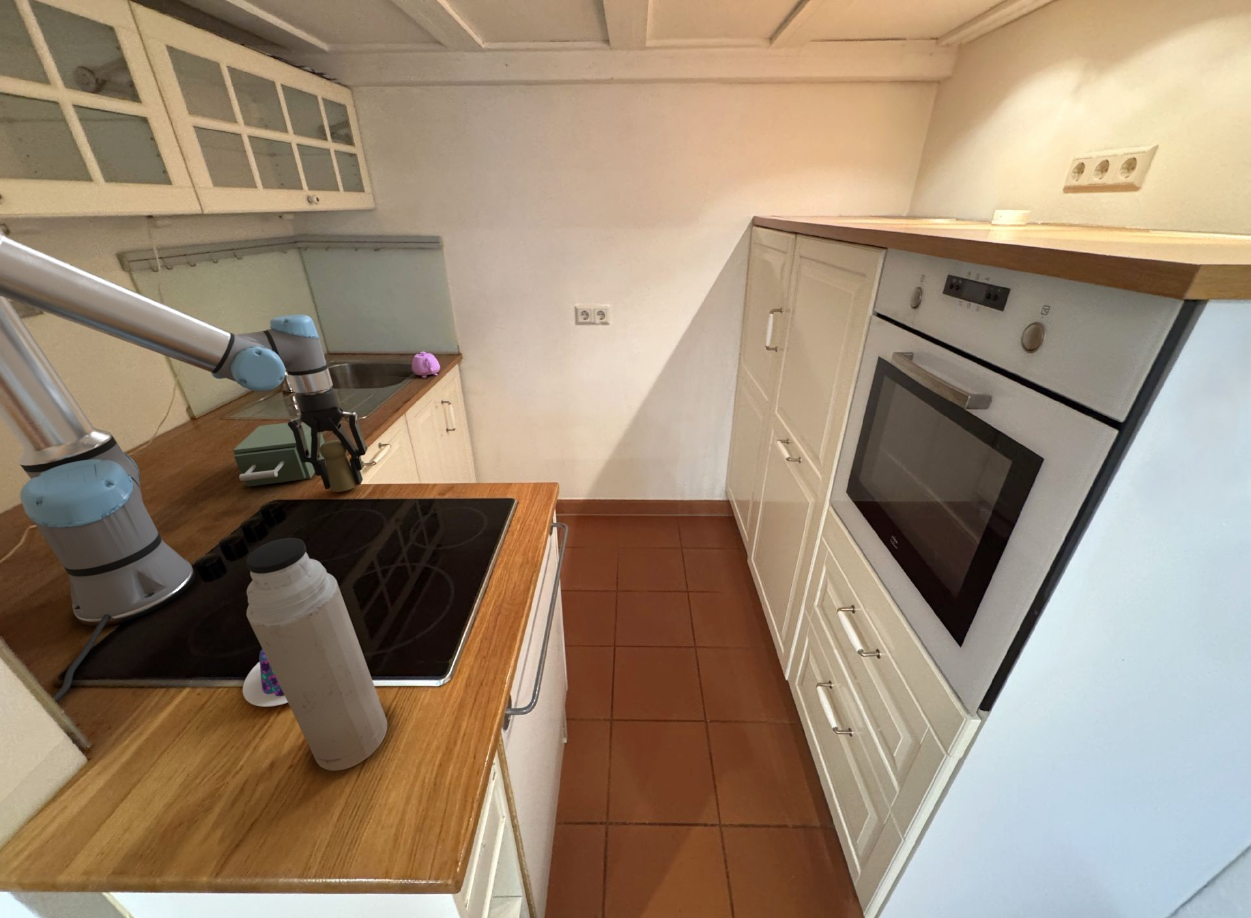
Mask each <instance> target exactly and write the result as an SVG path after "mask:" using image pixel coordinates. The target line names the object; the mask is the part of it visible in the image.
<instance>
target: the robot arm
mask: <svg viewBox="0 0 1251 918" xmlns="http://www.w3.org/2000/svg"><path fill="white" fill-rule="evenodd" d="M10 300H11V301H14V302H16V303H19V304H22V305H24V306H27V307H30V308H33V309H36V310H37V311H40V312H44V313H47V314H49V315H52V316H55V317H57V318H60V319H64V320H66V321H68V322H71V323H74V324H77V325H79V326H82V327H85V328H88V329H89V330H90V329H91V330H94V331H96V332H99V333H102V334H104V335H107V336H110V337H113V338H116V339H119V340H121V341H123V342H126V343H130V344H132V345H135V346H138V347H140V348H143V349H146V350H148V351H151V352H154V353H157V354H160V355H162V356H164V357H167V358H171V359H173V360H176V361H179V362H182V363H184V364H187V365H190V366H193V367H196V368H198V369H200V370H203V371H207V372H209V373H210V374H211V376H212V377H213V378H215V379H217V380H223V379H227V380H229V381H233V382H235V383H237V384H238V385H240V386H241V387H243V388H245V389H248V390H250V391H253V392H259V393H260V392H268V391H269V392H270V391H272V390H274V389H276V388H278V387H279V386H280V385H281V384H282V382H283V381H284V380H285V376H286V374H287V378H288V380H289V384H290V386H291V389H292V392H293V393H295V395H294V398H295V401H296V404H297V407H298V410H299V412H300V415H299V417H292V418H291V419H290V420H289V421H288V422H287V423H288V426H289V427H290V429H291V430H292V431H293V434H294V438H295V441H296V445H297V449H298V452H299V456H300V460H301V462H303V463H306V462H309V463H311V464H312V465H313V468H314V471H315V473H314V474H315V476H316V477H320V478H321V481H322V483H323V486H324V489H325V490H330V484H329V478H328V472H327V466H326V460H325V458H324V459H320V460H319V458H320V457H321V456H320V439H321V432H322V433H323V432H331V433H332V434H333V435H335V436H336V438H337V440H338V441H341V443H342V444H343V445H344V447H345V448H346V452H348V454H349V456H351V457H350V458H349V459H348V461H349V463H350V465H351V468H352V471H353V474H354V477H355V481H356V484H357V486H361V485H362V482H363V480H364V478H363V475H362V473H361V471H363V468H364V464H363V460H362V456H365V455H366V454H367V452H368V446H367V443H366V441H365V440H366V439H365V437H364V434H363V432H362V430H361V427H360V424H359V422H358V421H359V420H358V419H359V418H358V415H359V414H358V412H357V411H355V410H353V411H351V412H348V411H344V410H343V408H342V407H341V406H340V402H339V400H338V395H337V392H336V389H335V388H334V387H333V386H334V385H333V384H334V383H333V380H332V376H331V373H330V370H329V367H328V364H327V360H326V357H325V354H324V353H325V352H324V350H323V347H322V342H321V340H320V339H321V337H320V336H319V334H318V331H317V328H316V325H315V322H314V320H313V318H312V317H311V316H309V315H307V314H288V315H287V314H286V315H280V316H276V317H273V318H271V319H270V320H269V325H270V326H269V329H266V330H262V331H261V330H260V331H254V332H247V333H245V332H244V333H238V334H235V333H233V332H230V331H229V330H226V329H224V328H222V327H219V326H216V325H214V324H211V323H209V322H207V321H205V320H202V319H200V318H198V317H195V316H193V315H190V314H188V313H186V312H183V311H181V310H179V309H177V308H174V307H172V306H170V305H167V304H165V303H163V302H160V301H158V300H155V299H153V298H151V297H148V296H146V295H144V294H142V293H138V292H137V291H135V290H132V289H131V288H127V287H125V286H123V285H120V284H118V283H116V282H114V281H111V280H109V279H106V278H104V277H101V276H99V275H98V274H94V273H92V272H91V271H88V270H85V269H83V268H80V267H78V266H77V265H73V264H71V263H69V262H67V261H64V260H62V259H60V258H57V257H55V256H52V255H50V254H48V253H46V252H43V251H41V250H38V249H36V248H34V247H31V246H29V245H27V244H25V243H22V242H20V241H17V240H15V239H13V238H10V237H8V236H6V234H5V232H4V231H3V229H2V228H0V419H1V420H2V422H3V423H4V424H5V426H6V427H7V428H8V430H9V431H10V433H11V434H12V435H13V436H14V438H15V439H16V440H17V442H18V443H19V444H20V446H21V447H22V451H21V453H20V454H19V457H18V458H17V463H18V464H19V466H20V467H21V468H22V469H23V471H24V472H25V474H26V475H27V477H29V480H28V481H27V482H26V483H24V485H23V486H22V487H21V489H20V492H19V499H20V502H21V503H22V507H23V511H24V513H25V514H26V516H28V518H29V519H30V520H31V521H32V522H33V523H34V525H35V526H36V528H37V529H38V531H39V533H41V536H42V537H43V539H44V540H45V541H46V543H47V544H48V546H49V547H50V549H51V550H52V552H53V553H54V555H55V557H56V558H57V559H58V561H59V562H60V564H61V565H62V567H63V569H64V570H65V571H66V573H67V575H68V576H69V582H70V583H69V584H70V595H71V603H72V604H71V607H72V611H73V614H74V616H75V617H76V619H77V620H78V622H79V623H81V624H82V625H84V626H88V627H95V629H94V631H93V632H92V633H91V635H90V637H89V638H88V640H87V642H86V644H85V645H84V647H83V648H82V650H81V652H80V653H79V654H78V656H77V657H76V658H75V659H74V661H73V662H72V663H71V664H70V666H69V667H68V669H67V671H66V673H65V675H64V679H63V684H62V686H61V688H60V689H59V690H58V691H57V692H56V693H55V694H54V695H53V696H52V697H53V698H55V700H56V702H55V703H57V702H58V701H59V700H61V698H63V697H64V695H66V693H67V692H68V691H69V689H70V688H71V686H72V683H73V679H74V678H73V677H74V674H75V672H76V670H77V668H78V667H79V666H80V665H81V663H82V662H83V661H84V660H85V658H86V657H87V655H88V654H89V653H90V651H91V650H92V647H93V646H94V644H95V643H96V641H97V639H98V637H99V636H100V635H101V632H102V631H103V629H104V627H108V626H113V625H118V624H122V623H125V622H130V621H133V620H135V619H139V618H141V617H143V616H146V615H148V614H150V613H153V612H154V611H158V610H159V609H160V608H163V607H164V606H166V605H168V604H169V603H171V602H172V601H174V600H176V599H177V598H179V597H180V596H181V595H182V594H183V593H185V592H186V591H187V590H188V589H189V588H190V587H191V585H192V584H193V582H194V581H195V579H196V572H195V570H194V568H193V566H192V564H191V563H190V562H189V561H188V560H187V559H186V558H184V557H182V556H181V555H180V554H179V553H178V552H176V550H174V549H173V548H172V547H171V546H170V545H168V544H167V543H166V542H165V541H164V540H163V538H162V537H161V535H160V532H159V531H158V529H157V527H156V524H155V523H154V522H153V519H152V518H151V516H150V514H149V512H148V510H147V508H146V506H145V504H144V501H143V495H142V490H141V489H142V488H141V475H140V470H139V467H138V464H137V463H136V462H135V460H134V459H133V458H132V457H130V456H129V454H127V453H126V452H124V451H123V450H122V447H121V446H120V444H119V443H118V442H117V440H116V439H115V437H114V436H113V434H112V433H111V432H110V431H107V430H103V429H99V428H96V427H94V426H93V424H92V423H91V422H90V420H89V419H88V417H87V416H86V414H85V412H84V410H83V409H82V408H81V406H80V405H79V404H78V402H77V401H76V399H75V398H74V396H73V394H72V393H71V392H70V390H69V389H68V387H67V385H66V384H65V383H64V381H63V380H62V378H61V376H60V375H59V373H58V371H56V369H55V368H54V366H53V365H52V363H51V361H50V360H49V359H48V357H47V355H46V354H45V352H44V351H43V349H42V348H41V346H40V344H39V343H38V342H37V341H36V339H35V338H34V336H33V335H32V333H31V331H30V330H29V328H28V327H27V326H26V323H24V321H23V320H22V318H21V317H20V315H19V314H18V312H17V311H16V309H15V307H14V306H13V305H12V303H11V301H10ZM343 419H345V421H346V423H348V426H349V429H350V432H351V434H352V438H353V440H354V441H353V440H352V438H351V437H350V436H349V434H348V433H347V431H346V430H345V428H344V426H343V424H342V423H341V422H342V420H343ZM302 422H303V423H305V424H306V425H307V426H309V427H310V428H311V455H310V454H309V450H308V446H307V442H306V438H305V435H304V431H303V428H302V426H303V423H302ZM354 442H355V443H354Z"/></svg>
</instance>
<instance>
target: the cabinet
mask: <svg viewBox="0 0 1251 918" xmlns="http://www.w3.org/2000/svg"><path fill="white" fill-rule="evenodd" d="M302 423H303V422H302ZM302 428H303V431H304V435H305V438H306V442H307V446H308V450H309V454H310V455H311V428H310V427H309V426H307V425H306V424H305V423H303V426H302ZM324 443H326V441H325V439H324V436H323V432H321V439H320V447H321V445H322V444H324ZM293 446H295V447H296V449H297V445H296V441H295V438H294V434H293V431H292V430H291V429H290V427H289V426H288V422H281V423H273V424H272V423H271V424H263V425H259V426H257V427H256V428H255V429H254V430H253V431H251V432H250V434H249V435H248V436H247V437H245V438H244V439H243V440H242V441H241V442H240V443H239V444H238V445H237V446H236V447H234V448H233V450H232V452H233V454H234V456H235V455H236V454H243V452H250V451H259V450H267V449H276V448H284V447H293ZM297 452H298V449H297ZM298 455H299V452H298ZM320 456H321V457H320V458H319V460H320V459H324V460H325V458H324V457H322V455H321V453H320ZM299 458H300V456H299ZM300 461H301V460H300ZM301 463H302V466H303V469H304V472H305V475H306V477H305V479H297V480H290V481H289V482H294V481H302V480H310V479H312V477H313V476H314V474H315V471H314V468H313V465H312V464H311V463H309V462H306V463H303V462H301ZM287 482H288V481H282V482H274V483H267V484H259V485H251V486H247V487H256V486H264V485H265V486H266V485H272V484H279V483H287Z"/></svg>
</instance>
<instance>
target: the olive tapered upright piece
mask: <svg viewBox="0 0 1251 918" xmlns="http://www.w3.org/2000/svg"><path fill="white" fill-rule="evenodd" d="M346 452H347V450H346V448H345V447H344V445H343V444H342V443H341V441H340V440H339V439H337V440H336V439H335V440H328V441H325V443H324V444H322V445H321V447H320V453H321V455H322V457H324V461H325V464H326V467H327V472H328V478H329V484H330V488H329V490H330V491H331V492H336V493H340V492H346V491H349V490H352V489H355V488H356V487H357V486H358V485H357V484H356V481H355V477H354V474H353V471H352V468H351V464H350V461H349V459H348V457H347V455H346V454H347V453H346Z"/></svg>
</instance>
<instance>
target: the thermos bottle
mask: <svg viewBox="0 0 1251 918" xmlns="http://www.w3.org/2000/svg"><path fill="white" fill-rule="evenodd" d="M245 566H246V568H247V570H248V571H250V573H249V575H250V578H251V580H252V581H251V582H250V583H249V584H248V586H247V589H246V596H247V604H248V606H247V609H246V617H247V620H248V623H249V624H250V626H251V628H252V631H253V632H254V634H255V637H256V638H257V640H258V643H259V645H260V646H261V650H262V649H263V651H264V653H265V655H266V657H267V660H268V662H269V664H270V666H271V668H272V670H273V672H274V674H275V676H276V678H277V681H278V683H279V685H280V687H281V689H282V691H283V693H284V695H285V697H286V699H287V701H288V706H289V708H290V710H291V712H292V714H293V717H294V718H295V720H296V722H297V724H298V726H299V728H300V731H301V732H302V735H303V737H304V739H305V741H306V743H307V745H308V747H309V749H310V751H311V754H312V755H313V759H314V760H315V762H316V764H317V765H318V766H319V767H320V768H323V769H324V770H326V771H332V772H335V771H337V772H338V771H343V770H347V769H350V768H352V767H355V766H357V765H358V764H361V763H362V762H364V761H365V760H366V759H368V758H369V757H370V756H371V755H373V754H374V753H375V751H376V750H377V749H379V748H380V745H381V744H382V743H383V741H384V739H385V737H386V734H387V730H388V721H387V717H386V714H385V712H384V709H383V707H382V704H381V701H380V698H379V695H378V692H377V689H376V687H375V684H374V681H373V679H372V676H371V673H370V669H369V668H368V665H367V661H366V659H365V656H364V654H363V650H362V648H361V645H360V643H359V639H358V637H357V634H356V631H355V629H354V626H353V623H352V620H351V617H350V614H349V612H348V609H347V606H346V603H345V601H344V597H343V596H342V592H341V589H340V586H339V583H338V581H337V579H336V577H334V576H333V575H332V574H331V573H328V572H327V569H326V568H325V566H323V565H322V563H321V561H318V560H316V559H314V558H310V557H309V554H308V553H307V546H306V543H305V542H304V540H302V539H301V538H298V537H285V538H280V539H275V540H271V541H269V542H267V543H264V544H262V545H261V546H260V545H259V547H257V548H255V549H254V550H252V551H251V552H250V553H249V554H248V555H247V557H246V558H245Z"/></svg>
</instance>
